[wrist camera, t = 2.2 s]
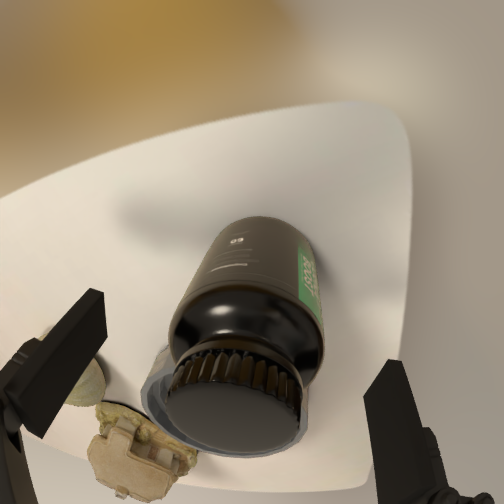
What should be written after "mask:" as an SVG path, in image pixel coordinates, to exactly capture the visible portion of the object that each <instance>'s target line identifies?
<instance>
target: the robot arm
mask: <svg viewBox="0 0 504 504" xmlns="http://www.w3.org/2000/svg"><path fill="white" fill-rule="evenodd" d="M107 337H108V336H107V326H106V315H105V303H104V292H101V291H98V290H95V289H92V288H89V289H88V290H87V291H86V293H85V294H84V295H83V296H82V297H81V298H80V299H79V300H78V301H77V302H76V303H75V304H74V305H73V306H72V308H71V309H70V310H69V311H68V312H67V313H66V314H65V315H64V316H63V317H62V318H61V320H60V321H59V322H58V323H57V324H56V325H55V326H54V327H53V329H52V330H51V331H50V332H49V333H48V334H47V335H46V337H45V338H44V339H43V340H42V341H40V340H38V339H36V338H32V339H31V340H29V341H27V342H25V343H24V344H23V345H22V346H21V347H20V348H19V350H18V351H17V353H15V354H14V355H13V357H12V359H11V360H9V361H8V362H7V364H6V365H5V366H4V367H3V368H2V370H1V371H0V504H38V501H37V498H36V495H35V492H34V488H33V484H32V481H31V477H30V473H29V469H28V464H27V460H26V456H25V451H24V446H23V441H22V435H21V431H20V426H21V425H22V423H23V424H24V426H25V428H26V429H27V430H28V431H29V432H31V433H32V434H34V435H36V436H37V437H39V438H41V439H43V437H44V435H45V433H46V432H47V430H48V428H49V427H50V425H51V423H52V422H53V420H54V418H55V417H56V415H57V414H58V412H59V410H60V409H61V407H62V405H63V404H64V402H65V401H66V399H67V398H68V396H69V394H70V393H71V391H72V390H73V388H74V387H75V385H76V383H77V382H78V380H79V379H80V377H81V376H82V374H83V373H84V371H85V370H86V368H87V367H88V365H89V364H90V362H91V361H92V359H93V358H94V356H95V355H96V353H97V352H98V350H99V349H100V347H101V346H102V345H103V343H104V342H105V340H106V339H107ZM363 398H364V404H365V410H366V416H367V422H368V428H369V434H370V441H371V448H372V455H373V463H374V470H375V479H376V487H377V497H378V504H494V500H493V498H492V496H491V495H490V494H488V493H481V494H478V495H477V496H476V497H474V498H472V497H465V496H460V495H459V493H458V491H457V490H455V489H454V488H452V487H449V485H448V482H447V478H446V475H445V470H444V466H443V462H442V458H441V456H440V451H439V448H438V444H437V440H436V437H435V435H434V434H433V432H432V431H431V429H430V428H429V427H422V424H421V420H420V417H419V414H418V411H417V407H416V404H415V400H414V397H413V394H412V391H411V388H410V385H409V381H408V378H407V376H406V373H405V369H404V367H403V364H402V361H398V360H391V359H388V360H387V362H386V363H385V365H384V366H383V368H382V369H381V371H380V372H379V374H378V375H377V377H376V378H375V380H374V381H373V383H372V384H371V386H370V387H369V389H368V390H367V392H366V393H365V394H364V396H363Z"/></svg>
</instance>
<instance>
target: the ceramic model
mask: <svg viewBox="0 0 504 504" xmlns="http://www.w3.org/2000/svg"><path fill="white" fill-rule="evenodd" d="M95 410H96V418H97V420H98V421H100V427H99V431H100V433H101V435H99V434H97V435H95V436H94V437H93V439H92V441H91V443H90V445H89V447H88V449H87V455H88V459H89V461H90V463H91V465H92V467H93V469H94V472H95V475H96V480H98V482H100V483H101V484H103V485H105V486H107V487H109V488H112V489H115V490H116V492H115V495H116V497H119V498H121V499H123V500H124V499H125V498H126V497H127V495H130V496H131V497H132V498H134V499H136V500H139V501H142V502H147V503H150V502H151V501H153V500H156V499H162V498H163V497H165V496H166V494H167V492H168V491H169V490H170V488H171V486H172V484H173V483H175V482H176V481H177V480H178V477H181V476H185V475H187V474H188V471H189V470H190V469H191V468H193V467H194V466H195V465H196V463H197V458H196V456H197V451H196V449H194V448H191V447H189V446H186V445H184V444H182V443H180V442H178V441H177V440H175V439H173V438H172V437H170V436H168V435H167V434H165V433H164V432H163V431H162V430H161V429H160V428H159V427H157V426H156V425H155V424H153V423H152V422H150V421H149V420H148V419H146V418H145V417H143V416H142V415H140V414H139V413H137V412H135V411H133V410H131V409H129V408H127V407H125V406H122V405H119V404H113V403H108V402H99V403H97V404H96V409H95Z"/></svg>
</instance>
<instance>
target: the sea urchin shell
mask: <svg viewBox="0 0 504 504" xmlns="http://www.w3.org/2000/svg"><path fill="white" fill-rule="evenodd" d="M47 334H48V333H47ZM47 334H45V335H43V336H41V337H39V338H38V340H40V341H42V340H43V339H44V338H45V337H46V335H47ZM104 379H105V378H104V376H103V371H102V370H101V369H100V367H99V365H98V363H97V361H96V359H95V358H93V359H92V361H91V362H90V364H89V365H88V367H87V368H86V370H85V371H84V373H83V374H82V376H81V377H80V379H79V380H78V382H77V383H76V385H75V387H74V388H73V390H72V391H71V393H70V394H69V396H68V398H67V399H66V401H65V402H64V404H69V405H74V406H78V407H79V406H82V407H83V406H84V407H86V406H87V407H89V406H93V405H95V404H97V403H98V402H100V401H102V398H103V397H104V394H105V389H106V382H105V380H104Z"/></svg>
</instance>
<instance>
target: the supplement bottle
mask: <svg viewBox="0 0 504 504" xmlns="http://www.w3.org/2000/svg"><path fill="white" fill-rule="evenodd" d="M168 343H169V350H170V354H171V357H172V360H173V362H174V364H175V366H176V368H175V370H174V373H173V379H172V382H171V384H170V387H169V389H168V392H167V395H166V399H165V403H164V405H165V407H166V409H165V412H166V413H167V414H168V419H169V420H170V421H172V423H173V425H174V426H175V427H176V428H178V429H179V431H180V432H182V433H183V434H185V435H186V436H187V437H189V438H191V439H193V440H195V441H197V442H198V443H201V444H204V445H206V446H208V447H212V448H216V449H218V450H223V451H228V452H237V453H257V452H265V451H268V450H274V449H276V448H277V447H281V446H283V445H284V444H285V443H288V442H290V441H291V439H292V438H294V437H295V436H296V433H297V431H298V430H299V428H300V420H301V403H302V400H303V391H304V390H305V389H306V388H307V387H308V386H309V385H310V384H311V383H312V382H313V380H314V379H315V378H316V376H317V374H318V373H319V371H320V369H321V366H322V363H323V360H324V354H325V339H324V328H323V319H322V310H321V302H320V293H319V285H318V277H317V270H316V264H315V258H314V254H313V252H312V249H311V247H310V245H309V243H308V241H307V240H306V239H305V237H304V236H303V235H302V234H301V233H300V232H299V231H298V230H297V229H296V228H294V227H293V226H291V225H290V224H288V223H286V222H284V221H281V220H279V219H276V218H271V217H263V216H257V217H248V218H244V219H241V220H238V221H236V222H234V223H232V224H231V225H229V226H227V227H226V228H225V229H224V230H223V231H222V232H221V233H220V234H219V235H218V236H217V237H216V239H215V240H214V242H213V243H212V245H211V247H210V248H209V250H208V252H207V254H206V256H205V257H204V259H203V261H202V263H201V265H200V266H199V268H198V270H197V272H196V274H195V276H194V277H193V279H192V281H191V283H190V285H189V287H188V288H187V290H186V292H185V294H184V296H183V298H182V300H181V301H180V303H179V305H178V307H177V309H176V311H175V313H174V316H173V318H172V320H171V323H170V326H169V332H168Z"/></svg>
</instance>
